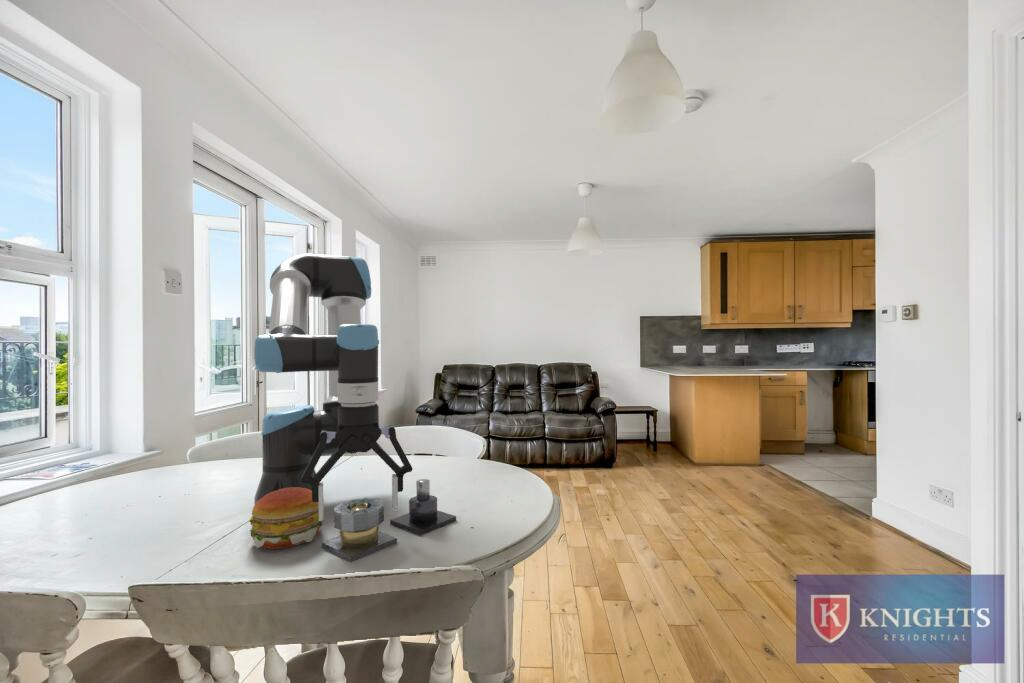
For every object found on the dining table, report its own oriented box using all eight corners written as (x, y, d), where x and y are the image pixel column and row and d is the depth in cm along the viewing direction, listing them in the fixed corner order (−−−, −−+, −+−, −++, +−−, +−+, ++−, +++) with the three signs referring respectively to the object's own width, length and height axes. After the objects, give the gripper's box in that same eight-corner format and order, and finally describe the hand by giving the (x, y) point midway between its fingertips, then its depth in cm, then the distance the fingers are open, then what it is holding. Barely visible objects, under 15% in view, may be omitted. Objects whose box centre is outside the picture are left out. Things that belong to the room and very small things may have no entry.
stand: (390, 524, 99) (389, 482, 99) (425, 511, 107) (425, 472, 107) (420, 535, 92) (420, 491, 93) (456, 520, 100) (455, 479, 100)
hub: (321, 547, 88) (321, 510, 88) (367, 530, 95) (366, 496, 96) (350, 562, 81) (350, 522, 82) (397, 543, 89) (396, 506, 89)
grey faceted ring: (334, 517, 91) (334, 502, 91) (381, 510, 94) (381, 496, 94) (334, 534, 83) (334, 517, 83) (385, 526, 86) (385, 510, 86)
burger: (297, 522, 101) (297, 476, 101) (339, 534, 94) (339, 485, 94) (235, 545, 89) (235, 493, 90) (277, 561, 82) (276, 505, 83)
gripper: (284, 410, 81) (285, 530, 81) (426, 402, 90) (426, 510, 90) (288, 404, 88) (289, 515, 88) (419, 398, 97) (420, 498, 97)
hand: (359, 513), depth 89 cm, fingers open, 13 cm apart
